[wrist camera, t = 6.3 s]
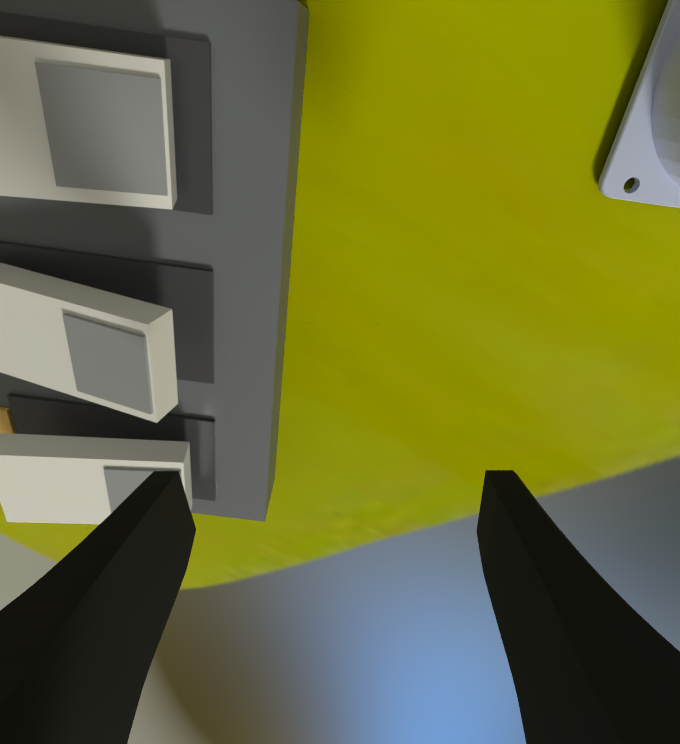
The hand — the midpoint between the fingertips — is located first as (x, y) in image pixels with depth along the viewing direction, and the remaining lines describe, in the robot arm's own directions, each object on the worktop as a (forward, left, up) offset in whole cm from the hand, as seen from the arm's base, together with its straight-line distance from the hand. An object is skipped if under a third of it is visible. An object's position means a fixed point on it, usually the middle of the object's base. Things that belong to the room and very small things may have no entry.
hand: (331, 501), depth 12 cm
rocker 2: (+9, +7, -6) cm, 12 cm away
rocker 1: (+9, -6, -6) cm, 12 cm away
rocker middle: (+9, 0, -6) cm, 11 cm away
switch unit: (+9, 0, -10) cm, 14 cm away
